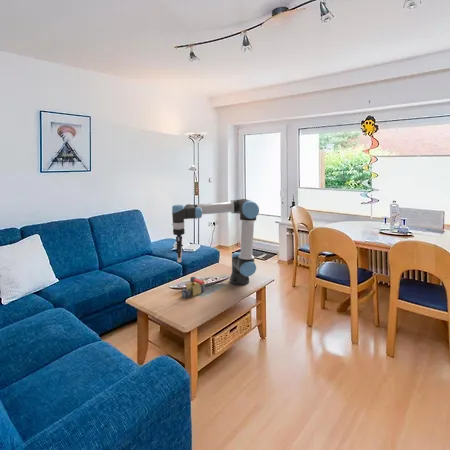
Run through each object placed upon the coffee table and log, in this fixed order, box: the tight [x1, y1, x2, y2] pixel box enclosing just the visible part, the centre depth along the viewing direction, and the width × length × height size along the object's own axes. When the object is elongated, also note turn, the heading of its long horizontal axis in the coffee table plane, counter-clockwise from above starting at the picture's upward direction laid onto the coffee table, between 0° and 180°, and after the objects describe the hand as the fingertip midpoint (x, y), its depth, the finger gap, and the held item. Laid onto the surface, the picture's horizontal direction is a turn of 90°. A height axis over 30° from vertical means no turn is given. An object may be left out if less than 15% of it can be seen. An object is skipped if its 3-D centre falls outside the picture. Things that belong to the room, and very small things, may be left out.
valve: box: [181, 281, 206, 299], centre depth 222 cm, size 18×7×10 cm, turn 134°
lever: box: [189, 276, 205, 285], centre depth 218 cm, size 12×4×2 cm, turn 45°
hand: (180, 259), depth 214 cm, fingers open, 13 cm apart
